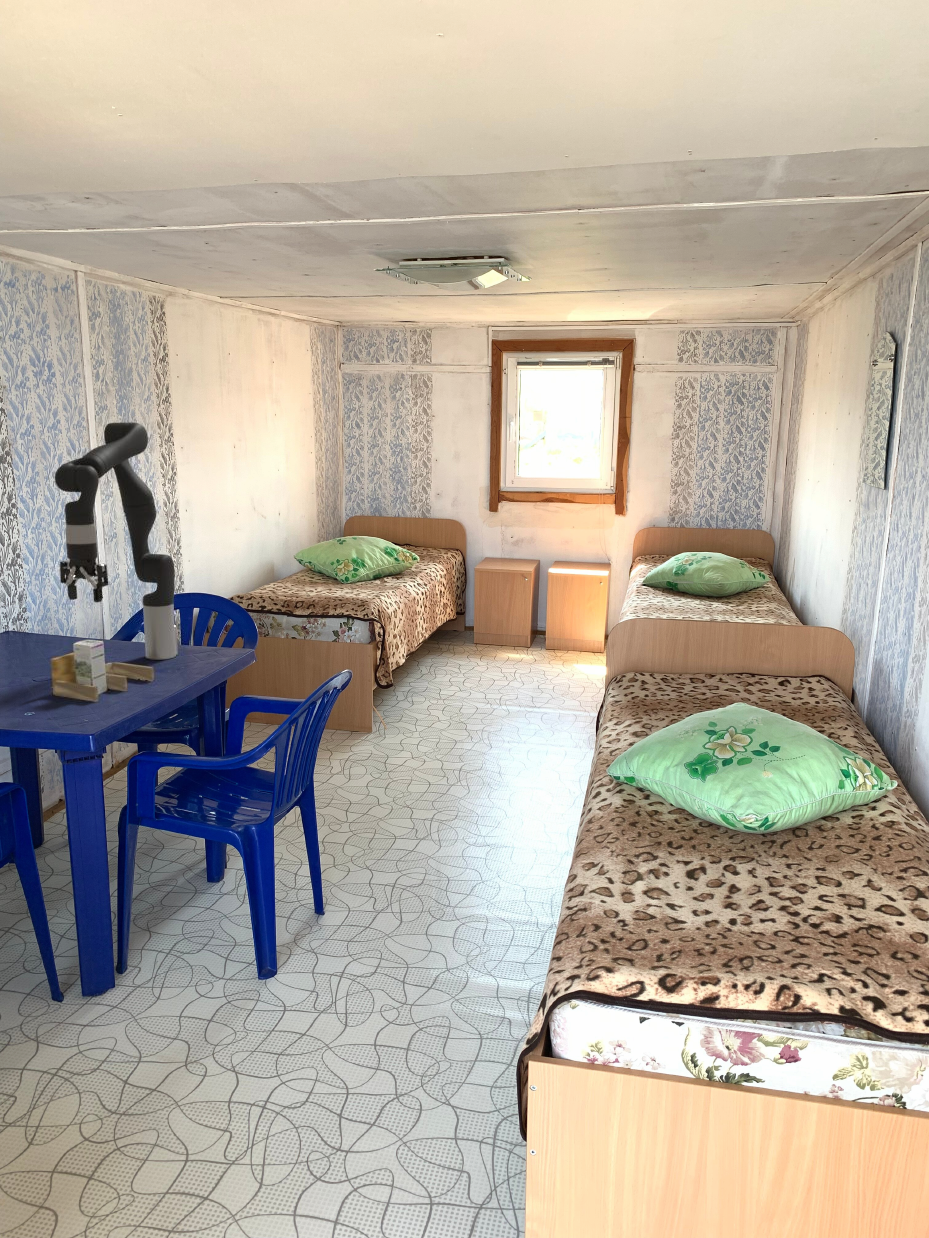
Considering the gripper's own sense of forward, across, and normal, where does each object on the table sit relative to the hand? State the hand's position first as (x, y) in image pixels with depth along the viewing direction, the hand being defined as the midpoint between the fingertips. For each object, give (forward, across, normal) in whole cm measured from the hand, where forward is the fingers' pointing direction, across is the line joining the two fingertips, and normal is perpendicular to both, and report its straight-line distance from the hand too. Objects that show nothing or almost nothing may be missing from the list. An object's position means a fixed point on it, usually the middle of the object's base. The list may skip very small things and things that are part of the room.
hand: (85, 600), depth 240 cm
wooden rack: (+26, 0, -6) cm, 26 cm away
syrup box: (+26, 0, 0) cm, 26 cm away
